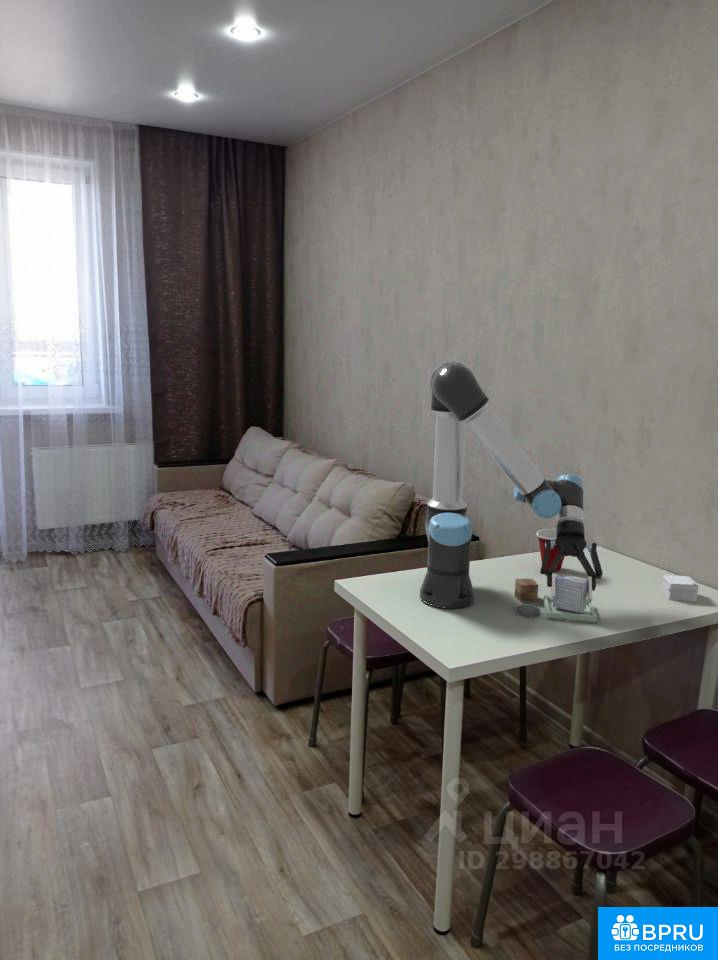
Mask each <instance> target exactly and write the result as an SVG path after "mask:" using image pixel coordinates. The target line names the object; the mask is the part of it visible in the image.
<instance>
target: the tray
mask: <svg viewBox="0 0 718 960" xmlns="http://www.w3.org/2000/svg"><path fill="white" fill-rule="evenodd" d="M542 599H543V601H542V602H543V607H544V611H545V617H546V620H553V621H565V622H577V623H585V624H586V623H587V622H588V623H587V624H597V622H598V615H597V613H596V611H595V607H594V606H593V603H592V602H593V601H591V603H588V598H587V602H586V609H585V610H584V611H583V612H582V613H578V612H573V611H569V610H564V609H560V608H555V607H553V600H551V595H543V598H542Z"/></svg>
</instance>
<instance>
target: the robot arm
mask: <svg viewBox="0 0 718 960" xmlns="http://www.w3.org/2000/svg"><path fill="white" fill-rule="evenodd" d="M430 389H431V396H430V397H431V401H430V402H431V403H430V411H431V412H432V414H434V416H435V432H434V433H435V435H434V457H433V458H434V460H433V480H432V481H433V482H432V483H433V484H432V485H433V486H432V497H431V499H429V500H428V501H427V504H426V519H425V521H424V529H425V534H426V537H427V542H428V543H427V562H426V563H427V567H426V573H425V575H424V578H423V581H422V584H421V586H420V588H419V599H420V598H421V599H422V600H423V601H425V602H427V603H429V604H432V605H435V606H439V607H445V608H444V609H447V608H456V609H463V608H467V607H469V606H472V605H473V604H474V602H475V590H474V587H473V583H472V580H471V577H470V567H471V565H470V564H471V550H472V549H471V545H472V535H473V525H472V522H471V520H470V519H469V518H468V517H467V515H468V503H466V501H464V500H463V493H464V492H463V491H464V488H463V487H464V475H465V474H464V473H465V472H464V470H465V453H466V452H465V451H466V433H467V432H466V431H467V429H466V428H467V427H468V428H469V429H470V431H471V432H472V433H473V434H474V436H475V437H476V438H477V439H478V441H479V442H480V443H481V444H482V446H483V447H484V448H485V449H486V451H487V452H488V454H489V455H490V456H491V457H492V458H493V460H494V461H495V462H496V464H497V465H498V466H499V467H500V469H501V470H502V471H503V472H504V474H505V475H506V477H507V478H508V479H509V480H510V482H511V483H512V484H513V486H514V488H513V499H514V500H515V501H516V502H520V503H522V504H524V503H526V504H528V505H529V506H530V508H531V509H532V510H533V512H534V513H535V514H536V515H537V516H538V517H540V518H543V519H550V518H553V517H555V516H556V520H555V521H556V523H555V525H556V528H555V529H556V540H555V541H550V540H549V539H547V540H546V542H545V550H546V551H545V555H544V559H543V563H542V562H541V567H540V571H539V573H540V574H541V575H544V576H546V586H547V588H550V596H551V600H554V599H555V577H556V573H554V570H555V569H556V567H557V565H558V563H559V562H560V560H561V559H562V557H563V555H564V556H565V557H573V558H577V560H578V561H579V563H580V564H581V566H582V568H583V570H584V572H585V573H586V575H587V579H588V590H587V599H588V603H591V602H593V592H595V590H596V588H597V580H601V579H602V577H603V575H604V574H603V573H604V572H603V570H602V566H601V562H600V559H599V555H598V551H597V546H598V545H597V542H593V543H589V542H587V541H586V538H585V526H584V525H585V512H584V494H585V493H584V486H583V481H582V479H581V478H580V477H579V476H577V475H575V474H570V473H569V474H562V475H560V476H558V477H557V478H556V480H551V479H545V477H544V475H542V473H541V472H540V470H539V469H538V468H537V467H536V465H535V464H534V463H533V461H532V459H531V458H530V457H529V456H528V454H526V452H525V451H524V450H523V448H522V447H521V446H520V444H519V443H518V441H517V440H516V439H515V438H514V437H513V435H512V434H511V432H510V431H509V430H508V428H507V427H506V426H505V424H503V422H502V421H501V419H500V418H499V417H498V415H497V414H496V413H495V411H494V410H493V409H492V408H491V406H490V399H489V398H488V396H487V395H486V393H485V392H484V391H483V389H482V387H481V385H480V383H479V382H478V380H477V378H476V376H475V375H474V372H473V371H471V369H470V368H468V367H467V366H466V365H464V364H462V363H460V362H454V361H451V362H446V363H443V364H442V365H440V366H438V367H437V368H436V369H435V370H434V371H433V374H432V375H431V378H430ZM554 545H555V546H556V547H557V548H558V550H559V552H558V554H557V556H556V557H555V559H554V561H553V563H552V564H551V566H550V568H549V569H546V565H547V562H548V558H549V554H550V550H551V549H552V548H553V546H554ZM585 549H587V552H589V554H590V558H591V562H592V566H593V567H592V566H591V564H590V562H589V560H588V558H587V557H586V555H585V552H584V550H585ZM421 599H420V600H421ZM439 607H438V608H439Z"/></svg>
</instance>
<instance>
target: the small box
mask: <svg viewBox="0 0 718 960" xmlns="http://www.w3.org/2000/svg"><path fill="white" fill-rule="evenodd" d="M661 583H662V585H661V591H662V593H663V594H664V595H665V596H666V597H667V599H668V600H669V601H670V600H671V601H681V602H682V601H684V602H697V601H698V593H699V585H698V584H697V582H696V580H693V578H692V577H691V576H688V575H671V574H669V575H668V574H667V575H666V574H664V575H662V582H661Z"/></svg>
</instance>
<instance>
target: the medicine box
mask: <svg viewBox="0 0 718 960" xmlns="http://www.w3.org/2000/svg"><path fill="white" fill-rule="evenodd" d="M587 590H588V577H586V578H585V577H581V576H575V575H573V574H566V573H561V572H560V573H559V574H557V575H555V599H554V600H553V607H555V608H560V609H564V610H569V611H573V612H578V613H582V612H583V611H584V610H585V609H586V602H587V599H588V595H587Z"/></svg>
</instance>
